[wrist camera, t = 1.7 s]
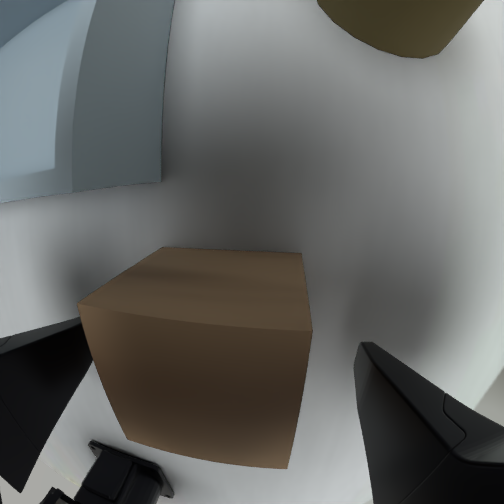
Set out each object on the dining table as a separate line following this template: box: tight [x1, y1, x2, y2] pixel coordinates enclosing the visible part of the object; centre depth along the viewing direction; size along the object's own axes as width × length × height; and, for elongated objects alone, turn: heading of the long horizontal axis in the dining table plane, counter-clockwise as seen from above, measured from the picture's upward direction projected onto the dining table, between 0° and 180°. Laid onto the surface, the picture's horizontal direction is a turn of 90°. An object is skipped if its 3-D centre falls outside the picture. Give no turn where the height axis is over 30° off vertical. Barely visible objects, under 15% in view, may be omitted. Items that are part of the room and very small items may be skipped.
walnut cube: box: [77, 247, 313, 469], centre depth 8 cm, size 5×5×5 cm
